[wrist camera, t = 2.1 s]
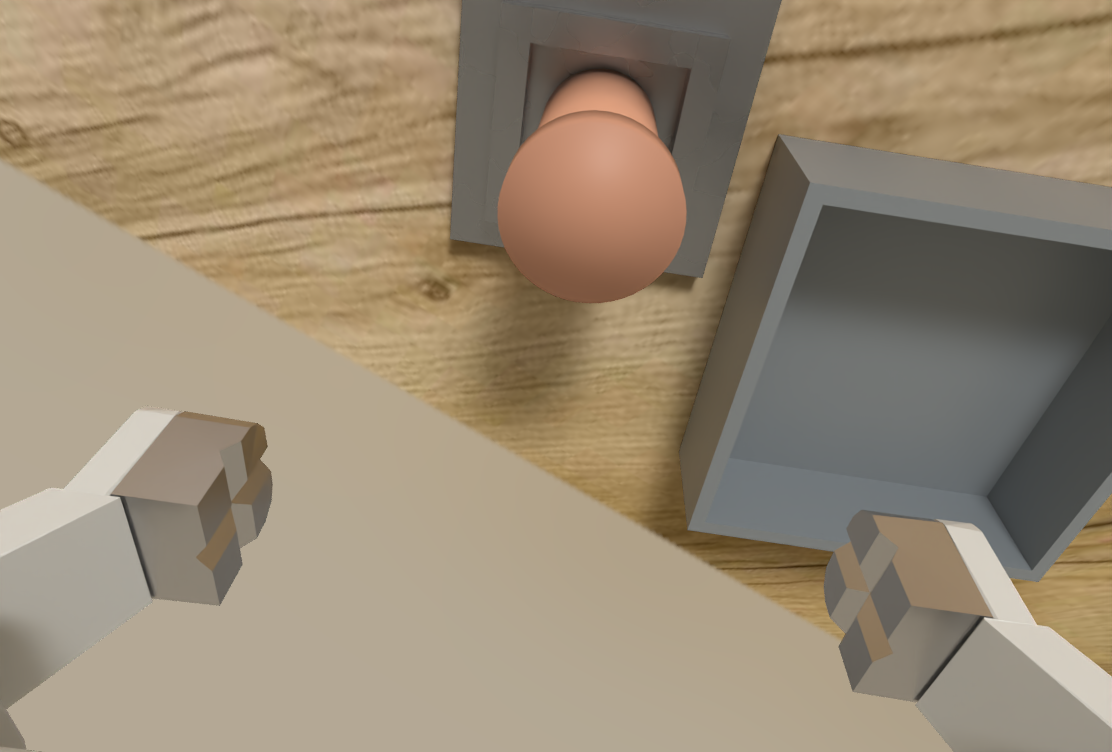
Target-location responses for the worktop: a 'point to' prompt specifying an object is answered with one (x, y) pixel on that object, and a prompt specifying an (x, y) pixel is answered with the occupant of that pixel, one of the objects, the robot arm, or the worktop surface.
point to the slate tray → (909, 356)
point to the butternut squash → (593, 193)
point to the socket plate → (629, 48)
